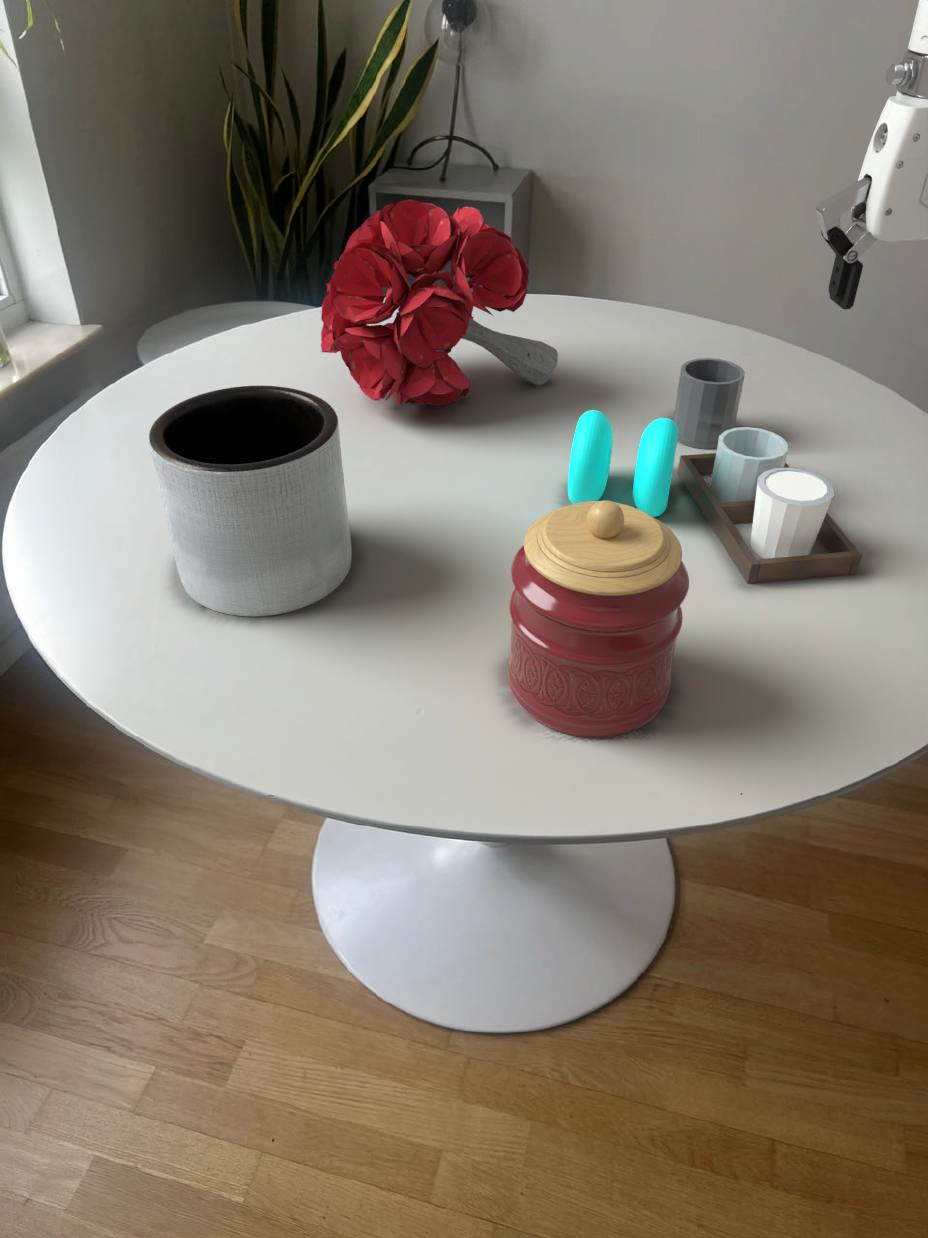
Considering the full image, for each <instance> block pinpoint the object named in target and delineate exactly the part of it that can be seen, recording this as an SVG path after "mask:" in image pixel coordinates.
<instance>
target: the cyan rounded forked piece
mask: <svg viewBox="0 0 928 1238" xmlns="http://www.w3.org/2000/svg"><path fill="white" fill-rule="evenodd" d="M575 426H576V427H575V430H574V435H573V440H572V444H571V445H572V446H571V451H570V457H569V466H568V474H567V496H568V500H569V501H570V503H571V505H572V504H576V503H580V502H588V501H600V500H601V499H602V497H603V494H604V493H605V490H606V487H607V483H608V478H609V473H610V466H611V459H612V453H613V452H612V451H613V443H614V442H613V441H614V440H613V439H614V434H613V433H614V432H613V428H612V423H611V421H610V419H609V418H608V416H607V415H605V413H604V412H602V411H600V410H597V409H589V410H587V411H585V412H583V414H582V415H580V417H579V418H578V421H577V423H576V425H575ZM677 439H678V427H677V425H676V423H675V422H674V421H673V419H671V418H669V417H659V418H656V419H654V420H652V421H651V422H650V423H649V424H648V425H647V426H646V428H645V429H644V431H643V432H642V435H641V437H640V441H639V446H638V450H637V456H636V463H635V470H634V475H633V476H634V477H633V483H632V485H633V486H632V498H633V502H634V505H635V508H637V509H639V510H641V511H643V512H645V513H646V514H648V515H650V516H652V517H653V518H657V517H660V516H661V515H662V514H664V513H665V511H666V510H667V507H668V502H669V495H670V489H671V484H672V478H673V471H674V464H675V457H676V452H677V445H678V441H677Z"/></svg>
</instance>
